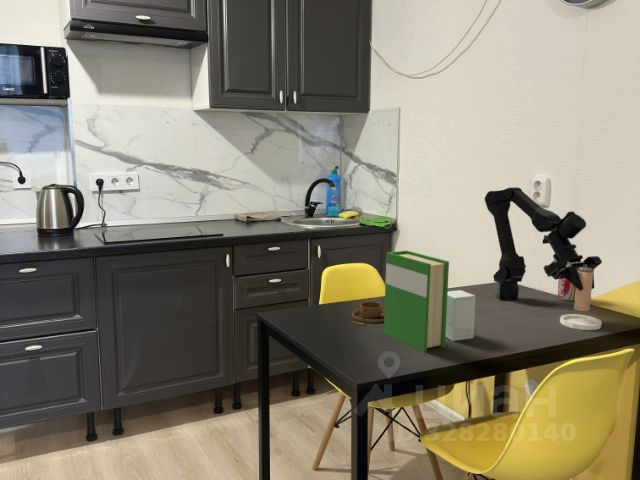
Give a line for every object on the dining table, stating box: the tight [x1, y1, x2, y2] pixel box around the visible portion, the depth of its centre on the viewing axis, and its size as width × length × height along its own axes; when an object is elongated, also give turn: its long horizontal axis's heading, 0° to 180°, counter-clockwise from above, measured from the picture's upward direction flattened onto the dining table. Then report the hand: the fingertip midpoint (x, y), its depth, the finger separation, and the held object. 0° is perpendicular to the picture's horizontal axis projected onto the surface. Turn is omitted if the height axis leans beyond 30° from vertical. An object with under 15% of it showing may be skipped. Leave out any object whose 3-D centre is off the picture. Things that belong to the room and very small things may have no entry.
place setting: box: [351, 301, 385, 326], centre depth 191 cm, size 18×20×6 cm
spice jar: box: [573, 267, 593, 312], centre depth 188 cm, size 4×4×13 cm
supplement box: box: [445, 289, 477, 342], centre depth 176 cm, size 7×7×13 cm
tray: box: [559, 313, 603, 331], centre depth 189 cm, size 12×12×2 cm
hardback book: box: [383, 250, 450, 353], centre depth 171 cm, size 18×7×24 cm, turn 31°
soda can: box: [557, 268, 578, 302], centre depth 218 cm, size 7×7×12 cm
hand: (587, 289), depth 186 cm, fingers closed on spice jar, 4 cm apart
